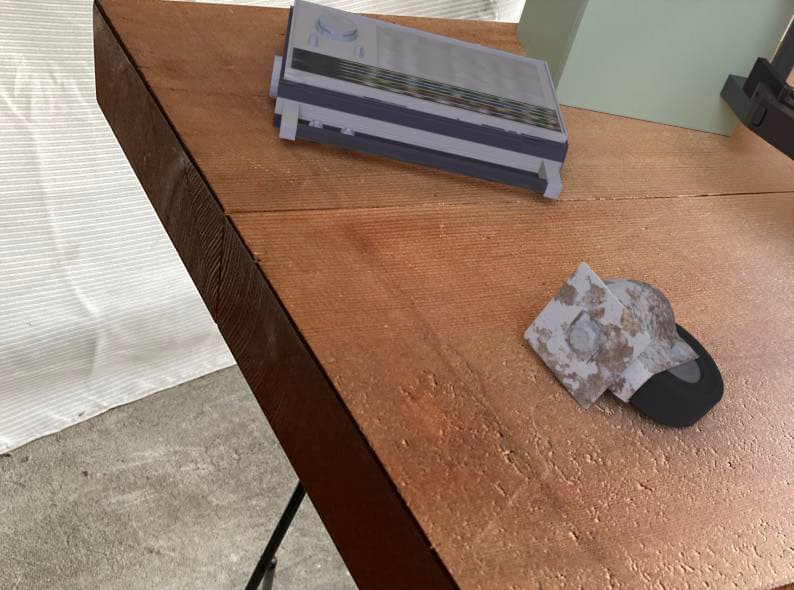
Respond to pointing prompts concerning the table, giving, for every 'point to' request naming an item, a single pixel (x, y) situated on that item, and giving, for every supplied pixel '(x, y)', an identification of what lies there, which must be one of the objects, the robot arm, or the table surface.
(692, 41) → the cabinet door
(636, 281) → the camo patterned piece
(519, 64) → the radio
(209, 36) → the table surface
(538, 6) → the cabinet
